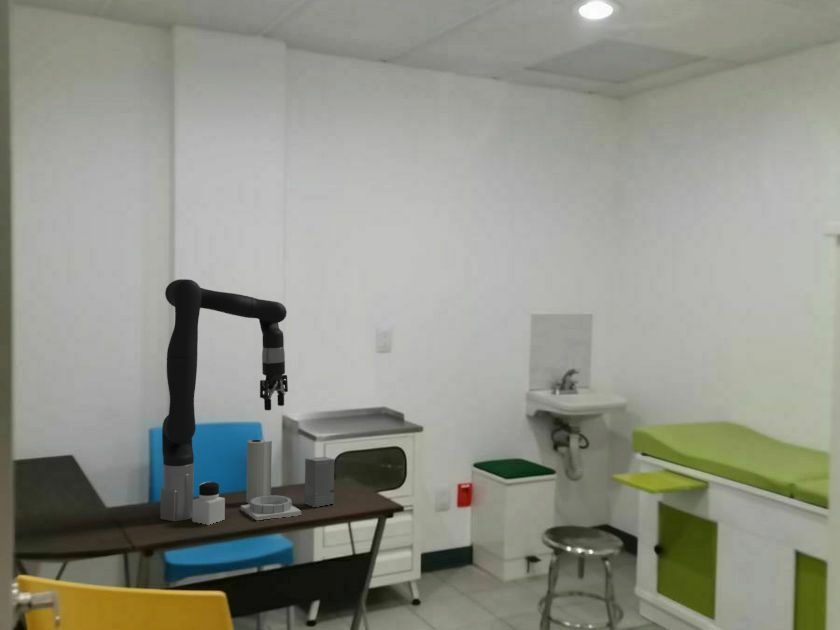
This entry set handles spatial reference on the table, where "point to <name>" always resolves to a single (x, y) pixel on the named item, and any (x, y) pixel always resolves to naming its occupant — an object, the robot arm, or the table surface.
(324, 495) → the skincare box
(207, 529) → the table surface
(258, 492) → the paper towel roll
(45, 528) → the table surface
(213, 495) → the medicine bottle
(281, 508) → the collar socket
